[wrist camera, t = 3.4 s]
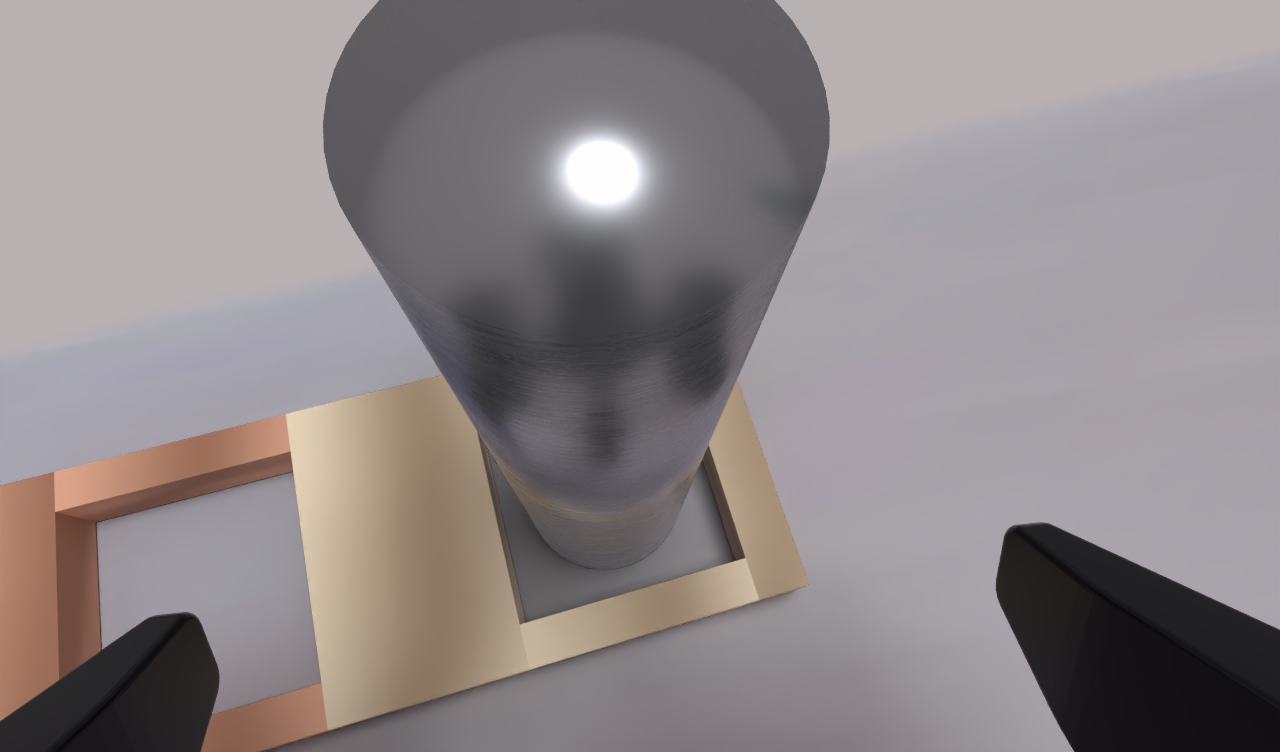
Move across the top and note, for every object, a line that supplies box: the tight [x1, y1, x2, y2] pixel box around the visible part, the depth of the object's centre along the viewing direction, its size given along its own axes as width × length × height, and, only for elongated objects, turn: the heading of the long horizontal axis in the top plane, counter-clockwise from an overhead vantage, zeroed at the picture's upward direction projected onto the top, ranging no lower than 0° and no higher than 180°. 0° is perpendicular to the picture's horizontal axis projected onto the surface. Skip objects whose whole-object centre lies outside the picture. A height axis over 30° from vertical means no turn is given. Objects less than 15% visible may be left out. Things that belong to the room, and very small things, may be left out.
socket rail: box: [0, 375, 809, 752], centre depth 19 cm, size 18×8×2 cm, turn 106°
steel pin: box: [323, 0, 829, 569], centre depth 13 cm, size 4×4×15 cm
